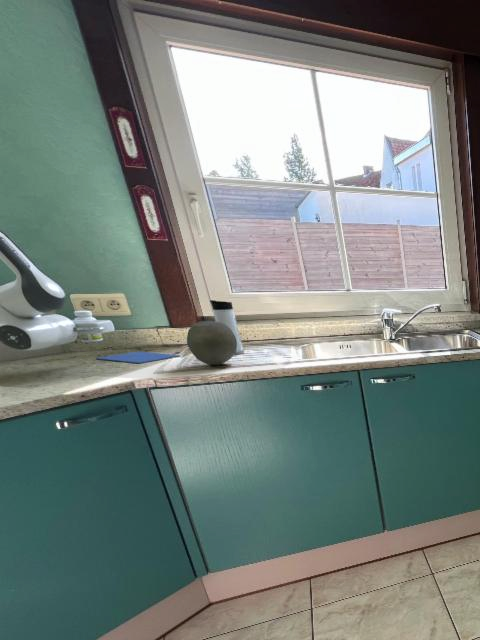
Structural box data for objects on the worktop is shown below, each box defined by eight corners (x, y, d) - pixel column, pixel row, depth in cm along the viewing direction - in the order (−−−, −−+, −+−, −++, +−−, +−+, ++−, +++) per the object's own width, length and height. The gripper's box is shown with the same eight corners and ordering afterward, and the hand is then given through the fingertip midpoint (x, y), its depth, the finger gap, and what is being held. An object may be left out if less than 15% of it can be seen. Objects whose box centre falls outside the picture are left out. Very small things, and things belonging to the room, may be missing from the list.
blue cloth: (96, 359, 173) (95, 358, 173) (139, 352, 186) (139, 351, 186) (139, 363, 169) (138, 362, 169) (180, 356, 182) (180, 355, 182)
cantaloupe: (182, 368, 165) (168, 322, 159) (217, 359, 178) (206, 317, 172) (220, 370, 164) (208, 324, 158) (252, 362, 177) (242, 319, 171)
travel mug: (219, 354, 187) (205, 300, 180) (236, 351, 193) (223, 298, 185) (230, 355, 185) (216, 301, 178) (247, 353, 191) (235, 299, 183)
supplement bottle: (79, 342, 160) (68, 312, 157) (82, 340, 164) (72, 310, 161) (102, 341, 163) (92, 311, 160) (104, 339, 167) (94, 310, 164)
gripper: (93, 319, 151) (122, 313, 164) (11, 319, 147) (47, 313, 159) (100, 339, 154) (128, 333, 166) (20, 340, 149) (55, 333, 161)
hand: (88, 323), depth 162 cm, fingers closed on supplement bottle, 5 cm apart
